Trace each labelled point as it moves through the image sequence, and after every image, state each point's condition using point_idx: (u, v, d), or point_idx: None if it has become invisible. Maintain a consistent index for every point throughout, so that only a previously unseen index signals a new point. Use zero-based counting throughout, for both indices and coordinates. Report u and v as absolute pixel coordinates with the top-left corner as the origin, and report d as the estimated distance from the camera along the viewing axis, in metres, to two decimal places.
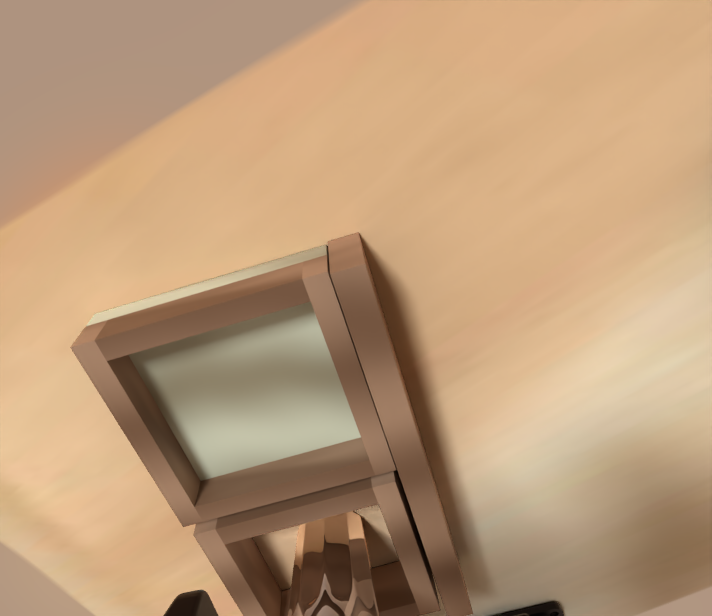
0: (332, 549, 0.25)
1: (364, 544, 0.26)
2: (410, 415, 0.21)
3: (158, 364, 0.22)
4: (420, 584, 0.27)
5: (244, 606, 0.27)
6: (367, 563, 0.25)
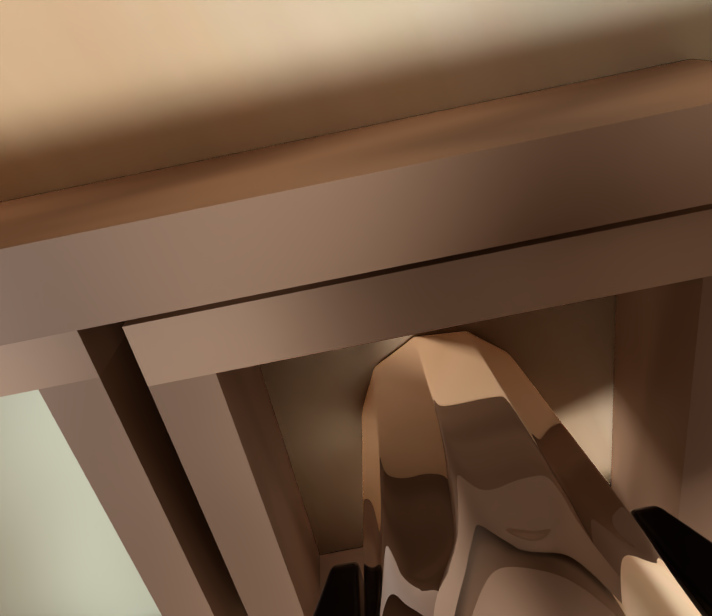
0: (369, 494, 0.09)
1: (424, 387, 0.09)
2: None
3: None
4: (616, 261, 0.08)
5: None
6: (434, 426, 0.08)
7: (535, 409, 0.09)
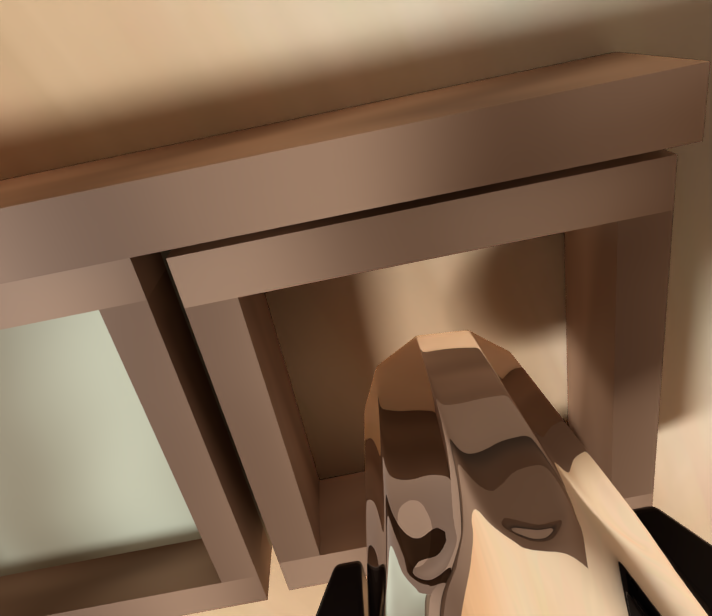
0: (371, 492, 0.09)
1: (427, 385, 0.09)
2: None
3: None
4: (548, 207, 0.10)
5: None
6: (437, 425, 0.08)
7: (538, 408, 0.09)
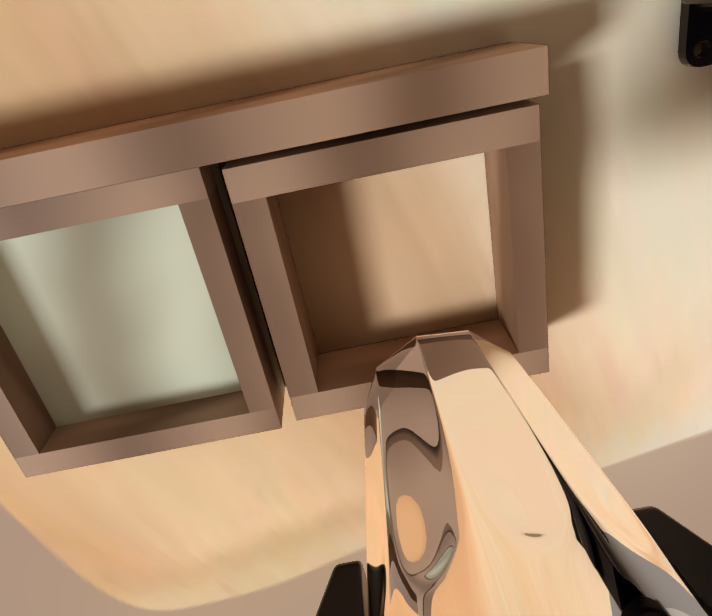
0: (372, 492, 0.09)
1: (427, 386, 0.09)
2: (71, 147, 0.15)
3: (85, 400, 0.21)
4: (461, 138, 0.16)
5: None
6: (437, 425, 0.08)
7: (538, 408, 0.09)
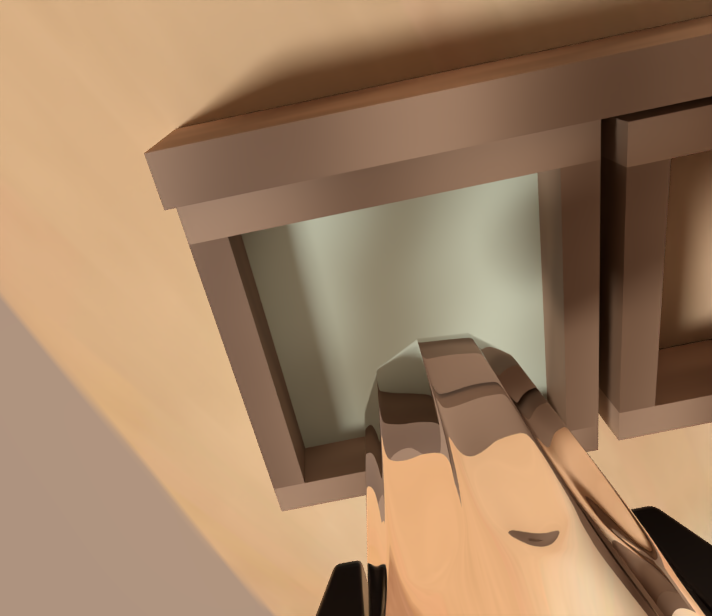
0: (372, 496, 0.09)
1: (428, 389, 0.09)
2: (465, 88, 0.11)
3: (346, 416, 0.17)
4: None
5: None
6: (438, 429, 0.08)
7: (539, 411, 0.09)
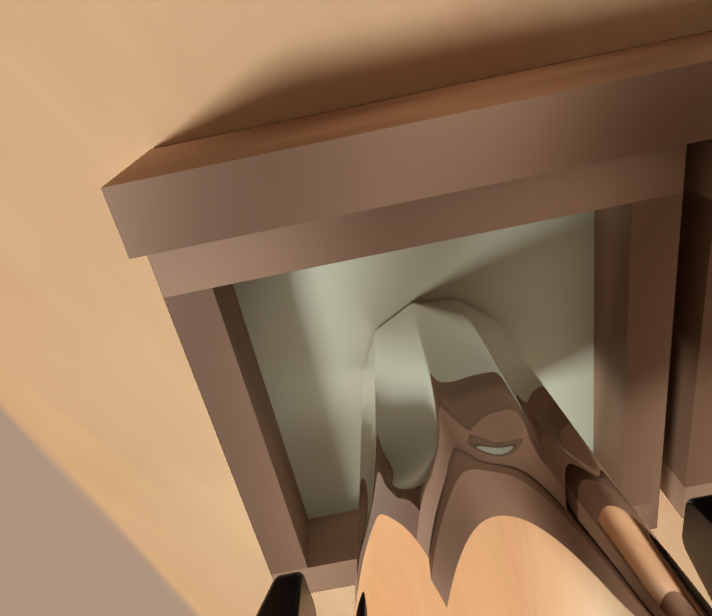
0: (366, 434, 0.10)
1: (417, 342, 0.10)
2: (519, 103, 0.09)
3: (356, 484, 0.15)
4: None
5: None
6: (423, 373, 0.10)
7: (514, 363, 0.10)
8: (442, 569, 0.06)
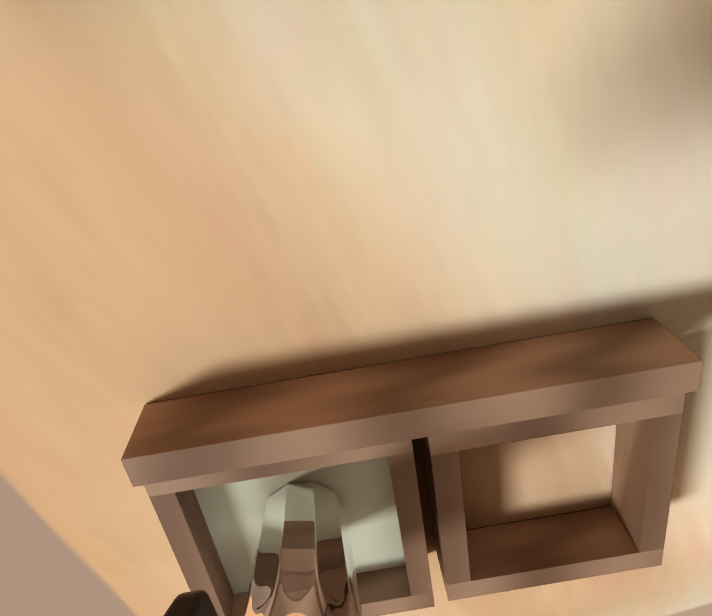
0: (253, 567, 0.20)
1: (282, 518, 0.20)
2: (319, 427, 0.18)
3: None
4: (621, 412, 0.20)
5: (571, 575, 0.23)
6: (279, 542, 0.19)
7: (329, 532, 0.20)
8: None
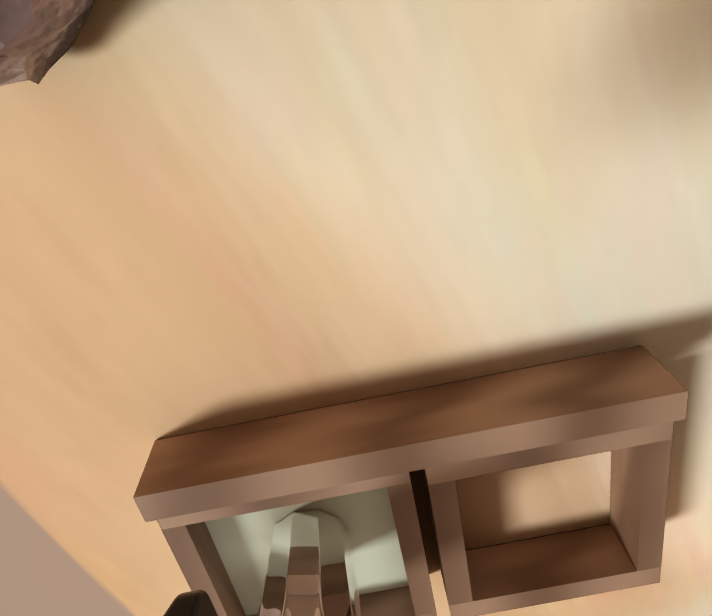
0: (262, 594, 0.21)
1: (288, 547, 0.21)
2: (319, 462, 0.19)
3: None
4: (611, 440, 0.20)
5: (571, 594, 0.24)
6: (285, 571, 0.20)
7: (333, 560, 0.21)
8: None
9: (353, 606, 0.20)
